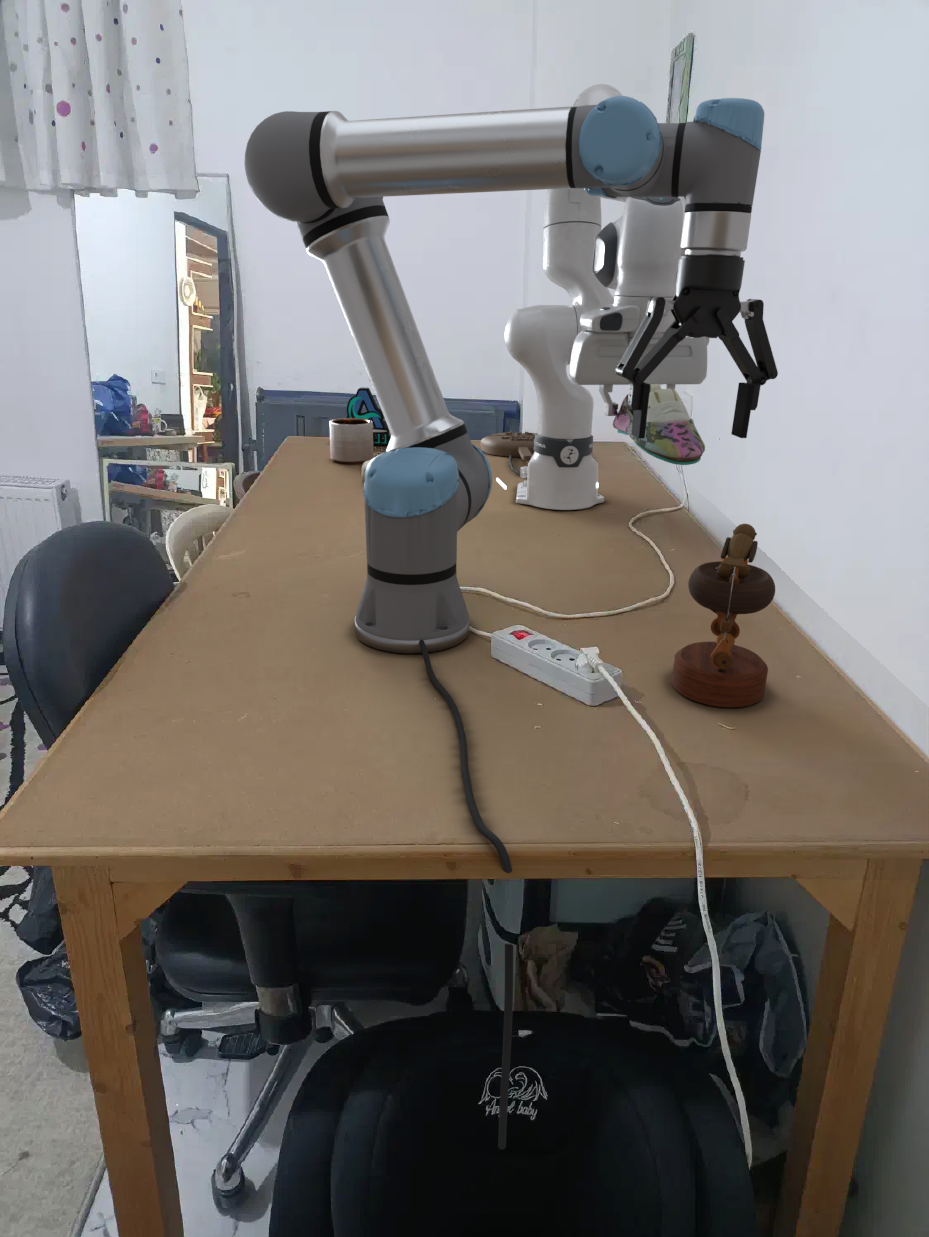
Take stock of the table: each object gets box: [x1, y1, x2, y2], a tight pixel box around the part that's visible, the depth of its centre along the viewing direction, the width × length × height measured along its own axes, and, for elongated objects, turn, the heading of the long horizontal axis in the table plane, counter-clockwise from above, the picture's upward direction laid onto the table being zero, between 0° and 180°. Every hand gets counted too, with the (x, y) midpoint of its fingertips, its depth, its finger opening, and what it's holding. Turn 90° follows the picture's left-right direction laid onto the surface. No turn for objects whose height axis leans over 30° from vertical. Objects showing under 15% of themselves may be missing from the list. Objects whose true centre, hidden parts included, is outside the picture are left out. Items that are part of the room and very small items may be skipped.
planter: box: [328, 417, 375, 464], centre depth 212 cm, size 11×11×10 cm
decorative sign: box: [329, 386, 391, 446], centre depth 231 cm, size 19×2×15 cm, turn 86°
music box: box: [671, 523, 776, 708], centre depth 96 cm, size 15×11×20 cm
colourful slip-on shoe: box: [612, 384, 706, 466], centre depth 118 cm, size 8×24×9 cm, turn 7°
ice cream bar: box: [479, 431, 537, 462], centre depth 222 cm, size 21×28×4 cm
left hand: (688, 436), depth 107 cm, fingers open, 13 cm apart
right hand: (634, 415), depth 127 cm, fingers closed on colourful slip-on shoe, 6 cm apart
